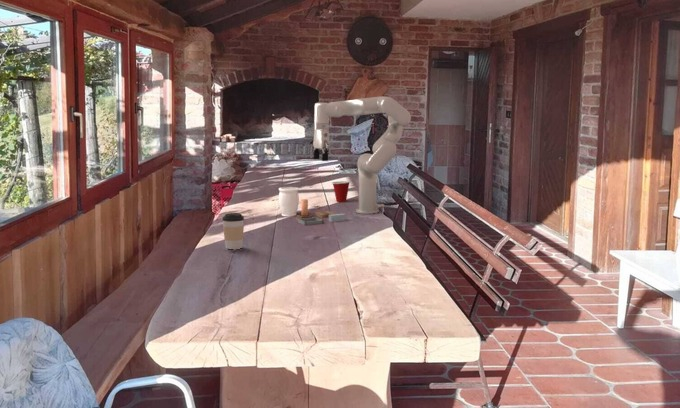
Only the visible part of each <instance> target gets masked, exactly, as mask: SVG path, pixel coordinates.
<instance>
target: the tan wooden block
mask: <svg viewBox="0 0 680 408" xmlns="http://www.w3.org/2000/svg"><path fill="white" fill-rule="evenodd" d="M332 214H337V213H335V212H332V211H330V210H326V211H315V212H314V217H317V218H319V219H324V218H329V215H332Z"/></svg>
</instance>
